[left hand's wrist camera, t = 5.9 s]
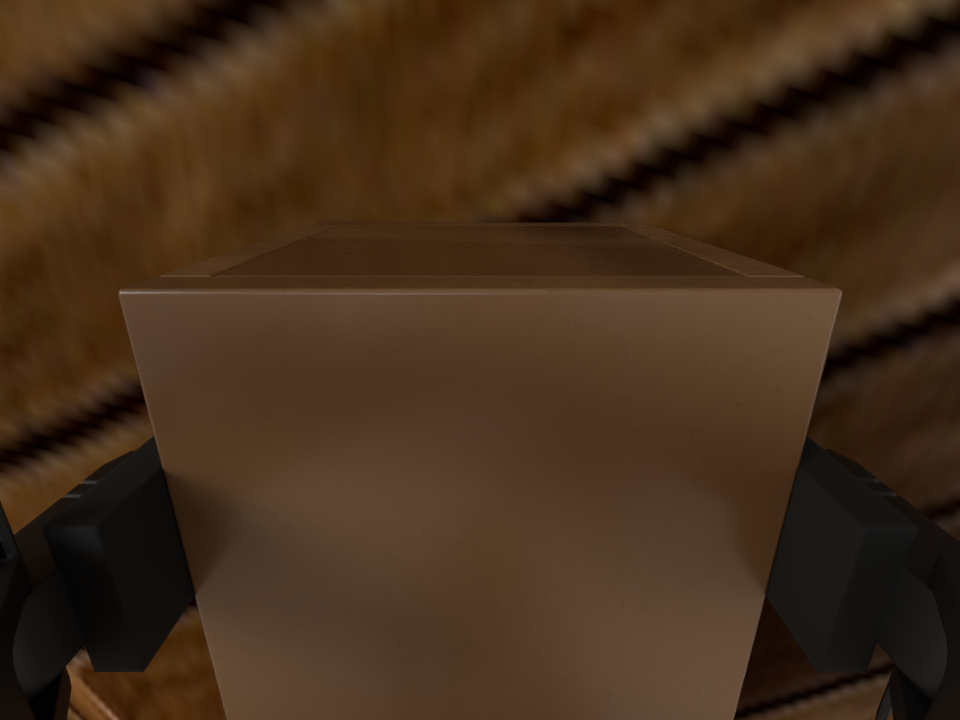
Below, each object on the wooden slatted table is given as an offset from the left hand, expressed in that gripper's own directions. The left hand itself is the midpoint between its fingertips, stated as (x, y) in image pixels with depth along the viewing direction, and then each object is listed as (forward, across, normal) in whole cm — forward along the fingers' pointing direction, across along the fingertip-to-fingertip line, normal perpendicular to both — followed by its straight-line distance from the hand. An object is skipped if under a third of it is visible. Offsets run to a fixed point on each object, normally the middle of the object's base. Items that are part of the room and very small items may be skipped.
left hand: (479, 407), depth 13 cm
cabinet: (+4, 0, -6) cm, 8 cm away
